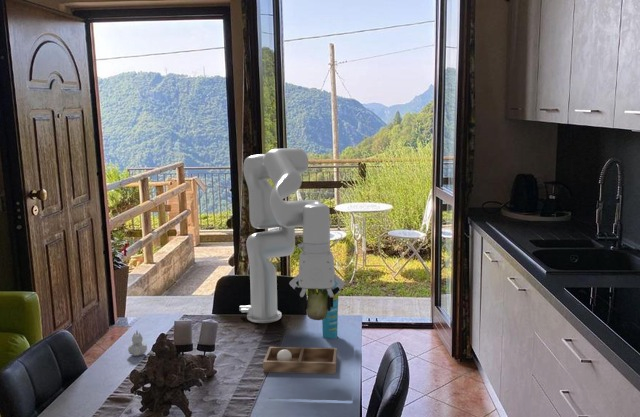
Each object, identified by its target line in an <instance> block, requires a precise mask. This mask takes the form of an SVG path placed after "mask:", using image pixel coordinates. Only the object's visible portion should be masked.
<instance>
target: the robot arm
mask: <svg viewBox="0 0 640 417" xmlns="http://www.w3.org/2000/svg"><path fill="white" fill-rule="evenodd" d="M309 164H310V163H309V156H308V155H307V153H306V151H304V149H302V148H299V147H291V148H288V147H287V148H285V147H284V148H273V149H270V150H269V151H267V152H266V153H264V154H263V153H260V154H259V153H258V154H253V155H250V156H247V157H246V158H245V159H244V161H243V165H242V166H243V167H242V169H243V170H242V171H243V176H244V179H245V182H246V185H247V189H248V203H249V205H248V206H249V222H250V225H251V227H253V228H255V229H256V230H257V229H258V230H259V229H263V230H265V229H275V228H279V230H270V231H269V230H268V231H260V232H254V233H252V234H250V235H248V237H247V238H246V242H245V243H246V244H245V245H246V246H245V247H246V252H247V256H248V263H249V264H248V265H249V280H250V281H249V282H250V288H249V289H250V304H248V305H239V308H238V309H239V312H241V313H243V314H244V313H246V314H247V315H246V319H247V320H248V321H249V322H251V323H256V324H257V323H258V324H269V323H274V322H277V321H279V320H280V319H282V312H281V311H280V310H278V289H277V288H278V287H277V286H278V283H277V280H278V278H277V268H276V267H275V265H274V264H273V263H272V261H270V259H273V258H280V257H287V256H288V257H289V256H291V255H292V254H294V252H295V249H296V231H295V230H296V228H297V227H299V228H300V227H302V241H301V242H302V243H298V244H297V248H298V249H300V250H302V251H301V252H300V253H299V259H298V260H299V261H298V274H296V276H295V277H293V278H291V280H289V283H288V284H289V285H290V287H292V289H293V290H294V291H295V292H296V293H297V294H298V295H299V296H300V306H301V307H302V309H303V311H306V305H307V297H308V294H306V293H307V291H308V289H316V290H318V289H327V291H328V293H329V295H328V310H329V311H331V307H333V297H334V295H335V294H336V293H337V292H338V293H339V292H340V290H341V289H342V288H343V287H344V286H345V284H346V283H345V281H344V280H343V279H342V278H340V276H339V275H338V274H336V271H335V270H336V268H335V260H334V259H335V258H334V255H333V252H332V251H331V231H330V230H331V227H330V226H331V218H330V216H331V215H330V214H331V213H330V212H331V211H330V206H328V205H327V204H326V203H322V202H321V201H320V200H317V199H301V200H299V199H298V200H289V201H288V200H284V199H286V198H287V197H290V196H292V195H293V194H295V193H296V192H297V191H298V190H299V189H300V188H301V186H302V181H303V179H302V177H301V175H303V174H305V173H306V172H307V170H308V168H309ZM268 180H271V182H272V184H273V186H272V184H271V183H270V182H269V181H268ZM335 281H336V282H337V283H338V285H337V286H336V287H335V288H334V289H333V287H334V284H335ZM297 283H298V284H297Z"/></svg>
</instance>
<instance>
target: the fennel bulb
mask: <svg viewBox="0 0 640 417" xmlns="http://www.w3.org/2000/svg"><path fill="white" fill-rule="evenodd" d="M305 311H306V316H307V317H308V318H309V319H311V320H314V321H322V320H323V319H325V318H326V315H327V312H328V291H327V289H323V292H322V289H307V305H306V310H305Z"/></svg>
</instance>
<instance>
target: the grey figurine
mask: <svg viewBox="0 0 640 417" xmlns="http://www.w3.org/2000/svg"><path fill="white" fill-rule="evenodd" d="M143 340H144V339H143V335H142V334H141V332H139V331H138V330H136V332H133V335H132V337H131V341H132V343H131V344H130V345H129V346H128V353H129V354H130V355H132V356H135V357H136V356H137V357H139V356H142V355H144V354H145V353H146V352H147V350H148V345H147V344H146V342H144V341H143Z"/></svg>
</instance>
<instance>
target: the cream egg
mask: <svg viewBox="0 0 640 417" xmlns="http://www.w3.org/2000/svg"><path fill="white" fill-rule="evenodd" d="M277 360H278V361H291V360H292V354H291V352H290V351H289V350H287V349H282V350H280V351H279V352H278V354H277Z"/></svg>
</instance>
